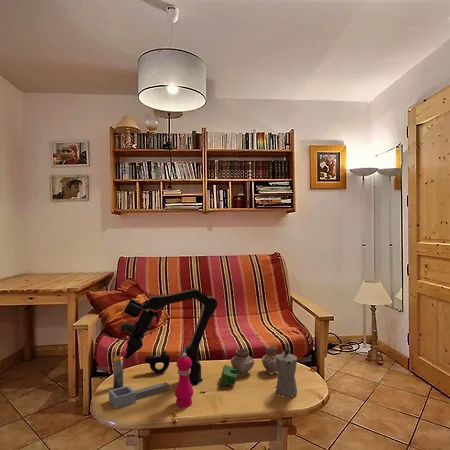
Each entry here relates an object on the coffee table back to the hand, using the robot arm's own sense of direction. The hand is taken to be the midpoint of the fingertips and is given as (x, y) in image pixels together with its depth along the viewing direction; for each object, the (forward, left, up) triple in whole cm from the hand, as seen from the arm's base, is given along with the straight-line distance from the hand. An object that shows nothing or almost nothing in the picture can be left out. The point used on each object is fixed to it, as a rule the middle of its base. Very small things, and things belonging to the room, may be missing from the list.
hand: (126, 354), depth 154 cm
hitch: (-11, +4, -14) cm, 18 cm away
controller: (-3, -20, -15) cm, 25 cm away
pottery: (-46, -40, -15) cm, 63 cm away
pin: (+3, +1, -14) cm, 15 cm away
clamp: (-38, -24, -15) cm, 48 cm away
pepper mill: (-31, +2, -14) cm, 34 cm away
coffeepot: (-65, -25, -15) cm, 71 cm away
